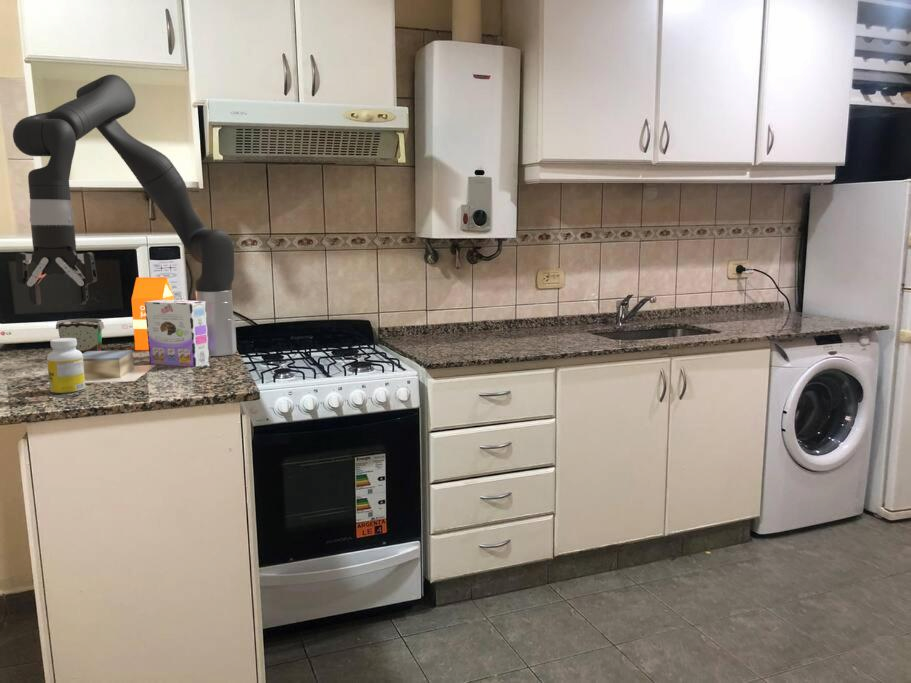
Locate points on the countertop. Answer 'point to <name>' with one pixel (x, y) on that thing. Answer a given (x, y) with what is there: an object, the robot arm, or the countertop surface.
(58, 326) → the food container
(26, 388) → the countertop surface
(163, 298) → the orange juice
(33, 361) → the countertop surface
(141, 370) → the baseplate
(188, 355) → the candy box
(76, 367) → the pill bottle
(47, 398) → the countertop surface
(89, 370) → the plinth
